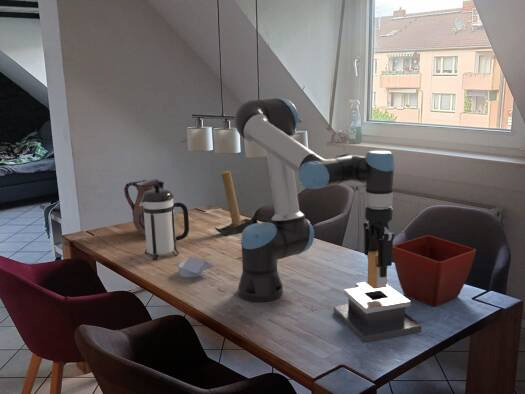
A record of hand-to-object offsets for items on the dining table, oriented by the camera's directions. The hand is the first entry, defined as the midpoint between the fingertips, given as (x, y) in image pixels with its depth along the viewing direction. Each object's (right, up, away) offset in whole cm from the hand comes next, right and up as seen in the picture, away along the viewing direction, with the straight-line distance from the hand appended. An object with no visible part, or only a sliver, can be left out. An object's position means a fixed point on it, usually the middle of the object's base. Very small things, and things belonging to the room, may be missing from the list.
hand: (377, 283), depth 154 cm
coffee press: (-74, +1, +66) cm, 100 cm away
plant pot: (+22, -8, +20) cm, 31 cm away
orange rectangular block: (0, -1, 0) cm, 1 cm away
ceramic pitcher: (-87, +8, +94) cm, 128 cm away
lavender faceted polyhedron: (-59, -4, +44) cm, 73 cm away
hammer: (-45, +9, +93) cm, 104 cm away
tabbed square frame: (0, -12, +3) cm, 12 cm away
